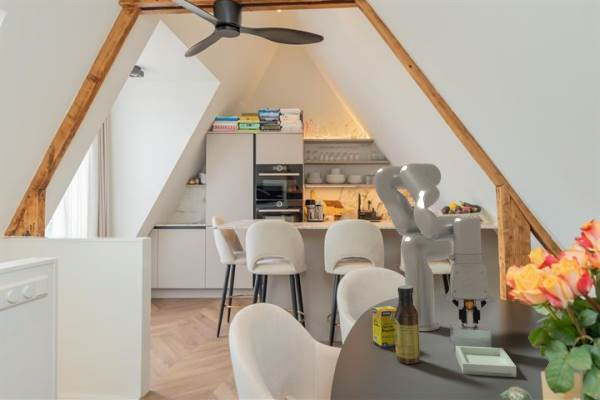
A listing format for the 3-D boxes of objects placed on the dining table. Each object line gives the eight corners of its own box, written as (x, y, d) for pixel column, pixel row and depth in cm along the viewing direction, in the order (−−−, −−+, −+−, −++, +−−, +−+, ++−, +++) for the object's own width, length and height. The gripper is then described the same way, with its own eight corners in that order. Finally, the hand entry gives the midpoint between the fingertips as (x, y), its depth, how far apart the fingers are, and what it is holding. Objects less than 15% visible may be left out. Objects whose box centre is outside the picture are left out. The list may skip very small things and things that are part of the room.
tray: (463, 373, 106) (462, 363, 106) (455, 354, 119) (455, 345, 119) (516, 377, 103) (516, 366, 103) (502, 357, 117) (502, 348, 117)
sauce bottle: (402, 355, 120) (400, 283, 120) (424, 360, 116) (422, 285, 116) (391, 362, 115) (389, 287, 115) (413, 367, 111) (411, 289, 111)
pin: (465, 348, 125) (464, 299, 125) (464, 345, 128) (462, 297, 128) (476, 348, 124) (475, 299, 125) (474, 345, 127) (473, 297, 128)
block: (453, 350, 123) (453, 329, 123) (450, 341, 131) (450, 321, 131) (491, 352, 121) (490, 330, 121) (485, 343, 129) (485, 323, 129)
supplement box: (381, 349, 126) (380, 311, 126) (372, 343, 132) (371, 306, 132) (400, 347, 127) (399, 309, 128) (390, 341, 133) (389, 305, 133)
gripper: (439, 260, 125) (441, 324, 124) (500, 261, 121) (502, 327, 121) (437, 257, 132) (439, 318, 132) (494, 258, 129) (496, 320, 128)
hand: (469, 321), depth 126 cm, fingers closed on pin, 3 cm apart
